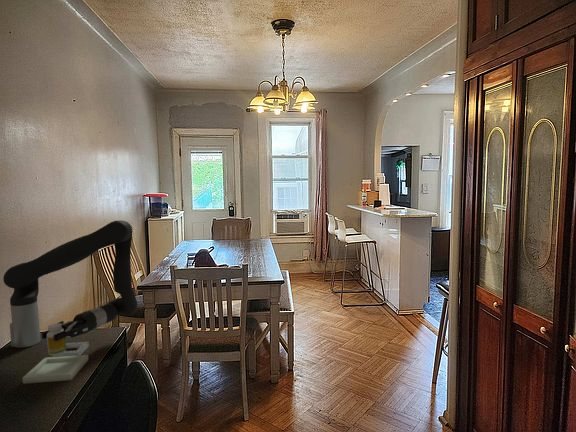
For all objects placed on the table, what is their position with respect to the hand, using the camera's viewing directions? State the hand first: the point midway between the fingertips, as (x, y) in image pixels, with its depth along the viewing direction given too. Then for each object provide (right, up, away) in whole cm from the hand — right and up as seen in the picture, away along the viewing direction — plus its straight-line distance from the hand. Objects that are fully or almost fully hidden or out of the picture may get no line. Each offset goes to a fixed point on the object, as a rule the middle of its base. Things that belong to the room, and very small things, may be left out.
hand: (48, 337), depth 134 cm
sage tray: (+1, -13, +3) cm, 13 cm away
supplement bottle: (+1, -6, +3) cm, 7 cm away
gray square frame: (-3, -12, +19) cm, 22 cm away
